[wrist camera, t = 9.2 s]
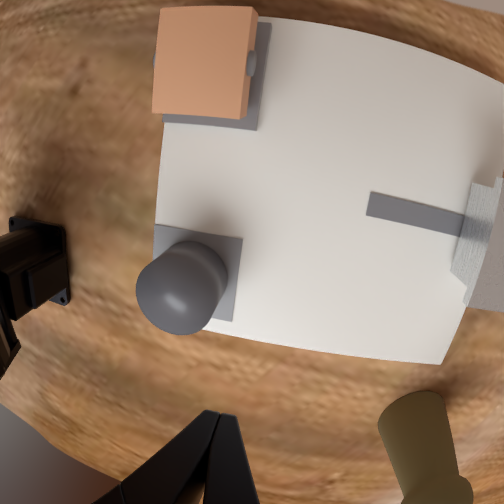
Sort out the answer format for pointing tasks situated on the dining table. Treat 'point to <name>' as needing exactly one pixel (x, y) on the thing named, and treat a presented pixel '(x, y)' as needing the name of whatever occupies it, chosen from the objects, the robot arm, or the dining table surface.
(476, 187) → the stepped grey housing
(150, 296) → the button
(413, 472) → the olive pawn
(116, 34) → the dining table surface
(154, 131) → the dining table surface
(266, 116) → the panel
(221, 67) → the peach slab
